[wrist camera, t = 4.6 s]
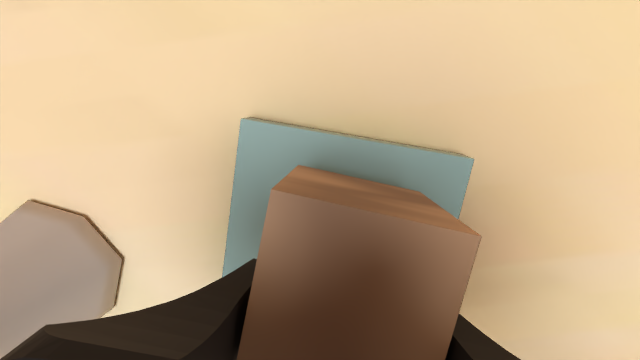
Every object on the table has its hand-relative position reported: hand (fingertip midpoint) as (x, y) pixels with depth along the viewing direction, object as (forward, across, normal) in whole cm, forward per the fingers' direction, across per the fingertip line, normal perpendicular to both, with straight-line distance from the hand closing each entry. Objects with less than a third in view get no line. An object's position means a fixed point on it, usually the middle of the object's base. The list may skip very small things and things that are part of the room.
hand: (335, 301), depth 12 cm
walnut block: (+2, 0, -2) cm, 2 cm away
